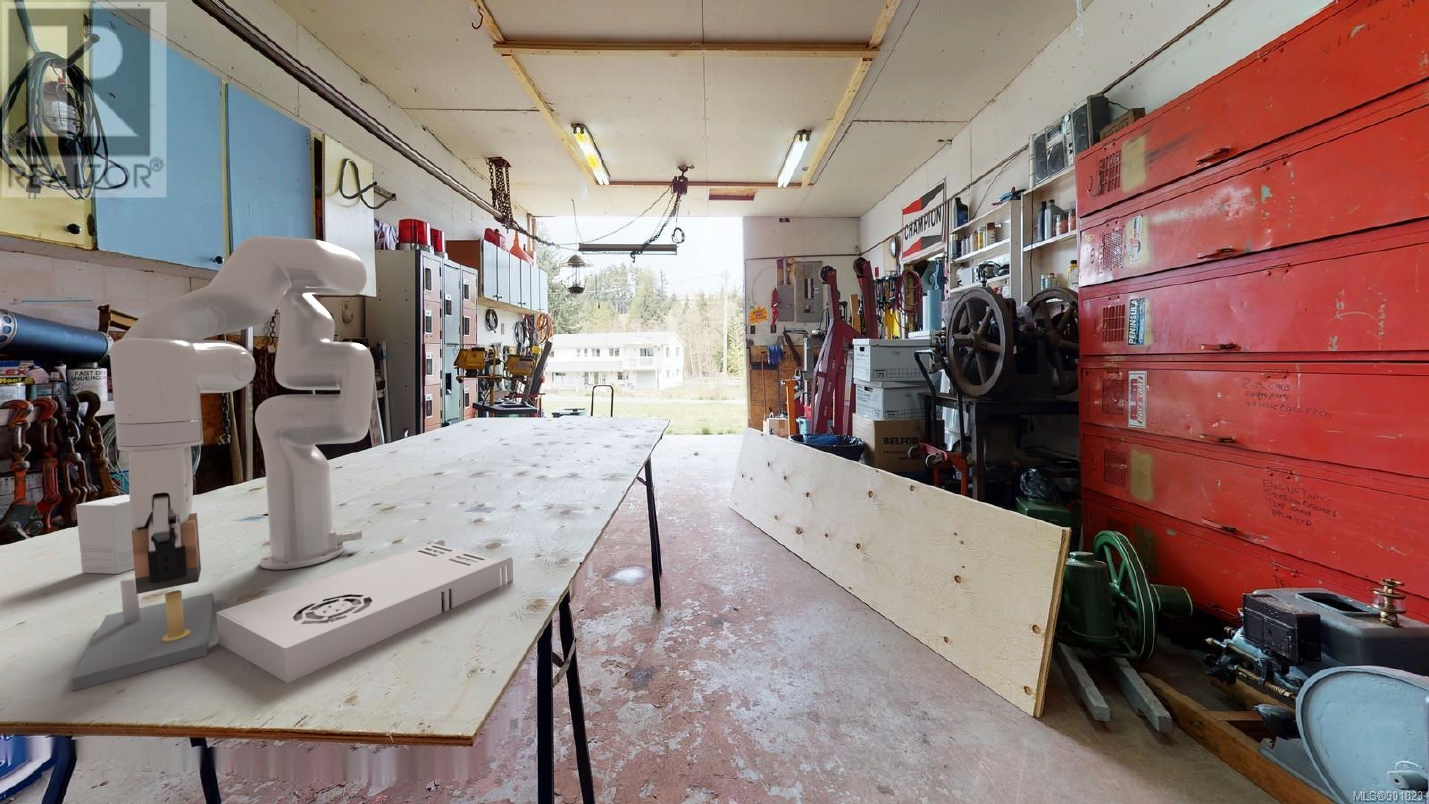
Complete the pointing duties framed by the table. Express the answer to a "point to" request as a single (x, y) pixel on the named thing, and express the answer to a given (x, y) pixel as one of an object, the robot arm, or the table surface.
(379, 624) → the power supply unit
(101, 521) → the supplement box
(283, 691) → the table surface
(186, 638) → the pin board
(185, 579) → the sleeve
